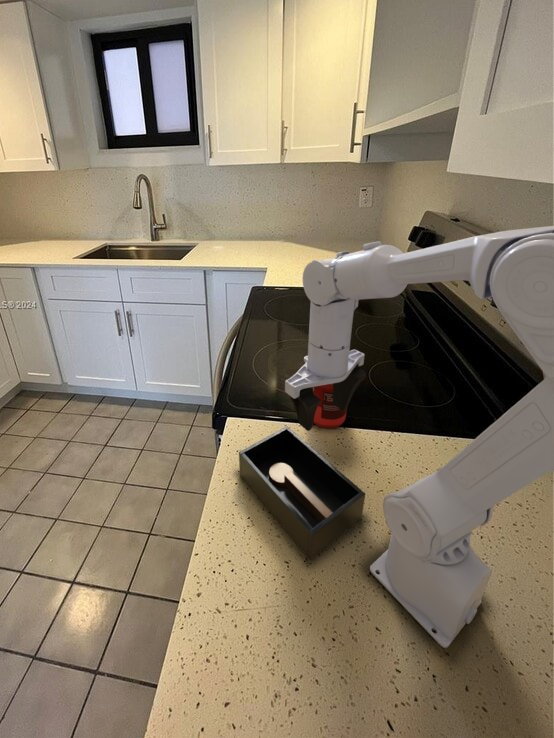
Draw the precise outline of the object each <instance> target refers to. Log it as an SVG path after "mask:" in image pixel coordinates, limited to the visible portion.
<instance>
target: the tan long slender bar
mask: <svg viewBox="0 0 554 738" xmlns="http://www.w3.org/2000/svg"><path fill="white" fill-rule="evenodd" d="M269 479H270V481H271V482H272V483H273V484H274V485H275V486H278V487H286V488H287V489H288V490H289V491H290V492H291V493H292V494H293V495H294V496H295V497H296V498H297V499H298V501H299V502H300V503H301V504H302V505H303V506H304V507H305V508H306V509H307V510H308V511H309V512H310V513H311V514H312V515H313V517H314V518H315V519H316V520H317V521H318V522H319V523H320V522H322V521H323V520H324V519H326V518H327V517H328V516H330V515H331V514H332V512H331V511H330V510H329V509H328V508H327V507H326V506H325V505H324V504H323V503H322V502H321V501H320V500H319V499H318V498H317V497H316V496H315V495H314V494H313V493H312V492H311V491H310V490H309V489H308V488H307V487H306V486H305V485H304V484H303V483H302V482H301V481H300V480H299V479H298V478H297V477H296V476H295V475H294V472H293V469H292V468H291V467H290V466H289V465H288V464H285V463H275V464H273V465H272V466H271V467H270V469H269Z"/></svg>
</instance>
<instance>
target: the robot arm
mask: <svg viewBox="0 0 554 738" xmlns="http://www.w3.org/2000/svg"><path fill="white" fill-rule="evenodd" d="M362 248H363V249H362V250H359V251H354V252H350V251H349V250H344V251H343V250H342V251H338V252H337V253H336V257H330V258H325V259H313V260H312V261H311V262H308V263H307V264H306V266H305V267H304V269H303V272H302V286H303V290H304V294H305V295H306V297H307V299H308V300H309V301H310V305H309V306H310V308H309V322H308V323H309V326H308V345H307V355H305V356H304V357H303V362H304V364H303V365H302V366H301V367H300V368H299V369H298V371H296V372H295V374H293V375H292V376H290V378H288V379H286V380H284V392H285V393H286V394H287V395H288V396H289V397H288V398H290V401H291V402H292V404H293V407H294V409H295V410H294V411H295V413H296V416H297V420H298V425H300V426H301V427H302V428H303V429H305V430H306V431H308V432H310V431H311V430H312V429H313V427H314V417H315V412H316V409H317V407H318V405H319V403H320V402H321V401H322V400H321V399H320V398H318V397H317V396H315V395H314V394H313V391H312V390H311V387H316V386H321V385H327V384H332V383H333V404H334V405H335V406H337V407H338V408H339V409H341V410H342V411H344V410H346V408H347V409H348V407H349V404H350V403H351V400H352V398H353V396H354V394H355V391H356V390H357V388H358V387H359V385H360V384H361V383H362V382H363V381H364V380H365V379H366V375H367V373H366V371H365V370H363V369H361V368H360V367H361V366H363V365H364V363H365V355H366V354H365V353H364V352H361V351H359V350H357V349H355V348H354V349H351V339H352V332H353V331H352V329H353V322H354V321H353V319H354V314H355V310H356V309H357V308H358V307H359V301H360V300H373V299H390V298H391V299H392V298H395V297H398V296H399V295H400V294H402V293H403V292H404V291H405V289H406V288H407V286H408V285H413V284H414V285H415V284H430V283H445V282H446V283H447V282H458V281H459V282H461V281H466V282H468V283H469V285H470V286H471V289H472V290H473V292H474V294H475V296H476V297H477V298H478V299H481V300H486V299H491V298H492V300H493V302H494V304H495V306H496V308H497V309H498V311H499V313H500V314H501V316H502V317H503V318H504V319H505V321H506V323H507V324H508V325H509V326H510V328H511V329H512V331H513V332H514V333H515V335H516V336H517V338H518V339H519V340H520V342H521V343H522V345H523V346H524V348H525V349H526V350H527V351H528V353H529V354H530V356H531V357H532V358H533V360H534V361H535V363H536V364H537V365H538V367H539V368H540V369H541V371H542V373H543V374H544V378H543V380H542V381H541V382H539V383H538V384H537V385H536V386H535V387H533V388H532V389H531V390H530V391H529V392H528V393H527V394H526V395H524V396H523V397H522V398H521V399H519V400H518V401H517V402H516V403H515V404H514V405H513V406H511V407H510V408H509V409H508V410H507V411H506V412H505V413H503V414H502V415H501V416H500V417H499V418H498V419H496V420H495V421H494V422H492V424H490V425H489V426H488V427H487V428H486V429H485V430H483V431H482V432H481V433H480V434H478V436H476V437H475V438H474V439H473V440H472V441H471V442H469V443H468V444H467V445H466V446H465V447H464V448H463V449H461V450H460V451H459V452H458V453H457V454H456V455H454V456H453V457H452V458H451V459H450V460H449V461H447V462H446V463H445V464H444V465H443V466H441V467H439V468H438V469H437V470H436V471H434V472H432V473H430V474H429V475H428V474H427V476H425V477H422V478H421V479H419V480H417V481H415V482H413V483H411V484H409V485H407V486H405V487H403V488H401V489H399V490H397V491H392V492H389V493H387V494H386V495H385V496H384V498H383V502H382V510H383V516H384V520H385V523H386V525H387V528H388V530H389V532H390V533H391V535H390V540H389V545H388V549H386V550H385V551H384V552H383V553H382V554H381V555H380V556H379V557H377V559H376V560H375V561H373V563H372V564H370V566H369V571H370V573H371V574H372V575H373V576H374V577H375V578H376V579H377V580H378V582H379V583H380V584H381V585H382V586H383V587H384V588H385V589H386V590H387V591H388V592H389V593H390V594H391V595H392V596H393V597H394V599H396V600H397V601H398V602H399V603H400V604H401V605H402V607H403V608H404V609H405V610H406V611H407V612H408V613H409V614H410V615H411V616H412V617H413V618H414V620H416V621H417V622H418V624H419V625H421V627H422V628H423V629H424V630H425V631H426V632H427V633H428V634H429V636H430V637H432V638H433V639H434V640H435V641H436V643H438V645H439V646H441V648H443V649H448V648H449V646H450V645H451V644H452V643H453V641H454V640H455V638H456V637H457V636H458V635H459V633H460V632H461V630H462V629H463V628H464V626H465V625H466V624H467V625H469V624H470V623H471V622H472V621H473V619H474V618H475V616H476V614H477V612H478V608H479V606H480V605H481V603H482V600H483V599H482V598H483V596H484V593H485V591H486V588H487V586H488V584H489V581H490V579H491V576H492V572H493V571H492V570H493V569H492V568H490V566H489V565H488V564H486V562H484V561H483V560H482V558H481V557H479V555H478V554H477V553H476V551H475V550H474V549H473V548H472V546H471V545H470V544H471V543H470V542H471V535H472V533H473V531H474V530H476V529H477V528H479V527H482V526H485V525H486V524H488V523H490V521H491V519H492V518H493V512H494V508H495V506H496V505H497V504H499V503H501V502H503V501H504V500H506V499H508V498H509V497H511V496H512V495H513V496H514V494H516V493H518V492H519V491H521V490H523V489H524V488H526V487H527V486H529V485H531V484H533V483H534V482H536V481H537V480H539V479H541V478H542V477H545V476H546V475H548V474H549V473H551V472H553V471H554V225H548V226H539V227H538V226H537V227H529V228H528V227H527V228H519V229H509V230H503V231H496V232H491V233H486V234H480V235H475V236H471V237H467V238H462V239H458V240H454V241H449V242H446V243H441V244H437V245H432V246H429V247H425V248H421V249H417V250H416V249H415V250H412V251H409V252H405V253H404V252H403V251H402V250H401V249H400V248H398V247H397V246H394V245H391V244H382V242H381V241H379V240H378V241H373V242H372V241H371V242H368V243H364V244H363V245H362ZM350 349H351V350H350ZM433 631H434V632H433Z"/></svg>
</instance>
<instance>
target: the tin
mask: <svg viewBox="0 0 554 738" xmlns="http://www.w3.org/2000/svg"><path fill="white" fill-rule="evenodd" d="M238 463H239V464H238V465H239V476H240V477H241V478H242V480H243V481H244V482H245V483H246V484H247V485H248V487H249V488H250V489H251V490H252V492H253V493H254V494H255V495H256V497H257V498H258V499H259V500H260V501H261V503H263V505H264V506H265V508H266V509H267V510H268V511H269V512H270V514H271V515H272V516H273V517H274V519H276V521H277V522H278V523H279V524H280V526H281V527H282V528H283V529H284V531H285V532H286V533H287V534H288V535H289V536H290V538H292V540H293V541H294V543H295V544H296V545H297V547H298V548H300V550H301V551H302V552H303V554H305V556H306V557H307V559H309V561H311V560H312V559H314V558H315V557H316V556H318V554H320V553H321V552H322V551H323V550H325V549H326V548H327V547H328V546H330V545H331V544H332V543H333V542H334V541H336V540H337V539H338V538H340V536H342V535H343V534H344V533H345V532H347V531H348V530H349V529H351V527H353V526H354V525H355V524H356V523H358V522H359V521H360V520H362V517H363V512H364V506H365V505H364V504H365V500H366V493H365V492H364V491H363V490H362V489H361V488H360V487H358V486H357V485H356V484H355V483H354V482H353V481H352V480H351V479H349V478H348V477H347V476H346V475H344V473H343V472H341V471H340V470H339V469H338V468H336V466H334V465H333V464H332V463H331V462H329V461H328V460H327V459H326V458H325V457H324V456H323V455H321V454H320V453H319V452H318V451H317V450H316V449H314V448H313V447H312V445H310V444H309V443H307V442H306V441H305V440H304V439H303V438H302V437H300V436H299V435H298V434H297V433H296V432H295V431H293V430H292V429H291V428H290V427H289V426H287V425H286V426H284V427H283V428H281V429H279V430H277V431H275V432H274V433H271V434H269V435H268V436H266V437H263V438H262V439H261V440H259V441H257V442H255V443H253V444H251V445H249V446H248V447H246V448H244V449H241V450H240V451H239V452H238ZM275 463H285V464H288V465H289V466H290V467H291V468H292V469H293V472H294V475H295V476H296V477H297V478H298V479H299V480H300V481H301V482H302V483H303V484H304V485H305V486H306V487H307V488H308V489H309V490H310V491H311V492H312V493H313V494H314V495H315V496H316V497H317V498H318V499H319V500H320V501H321V502H322V503H323V504H324V505H325V506H326V507H327V508H328V509H329V510H330V511H331V512H332V514H331V515H330V516H328V517H327V518H326V519H324V520H323V521H322V522H320V523H319V522H318V521H317V520H316V519H315V518H314V517H313V515H312V514H311V513H310V512H309V511H308V510H307V509H306V508H305V507H304V506H303V505H302V504H301V503H300V502H299V501H298V499H297V498H296V497H295V496H294V495H293V494H292V493H291V492H290V491H289V490H288V489H287V488H286V487H278V486H275V485H274V484H273V483H272V482H271V481H270V479H269V469H270V467H271V466H272V465H273V464H275Z"/></svg>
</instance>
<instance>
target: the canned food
mask: <svg viewBox="0 0 554 738" xmlns="http://www.w3.org/2000/svg"><path fill="white" fill-rule="evenodd" d="M311 390H312V391H313V394H314V395H315V396H317V397H318V398H320V399H321V400H322V401H321V402H320V403H319V405H318V407H317V409H316V412H315V417H314V423H313V425H316V426H318V427H320V428H325V429H335V428H338V427H340V426H342V425H343V424H344V422H345V421H346V418H347V411H348V407H347V408H346V410H344V411H342V410H341V409H339V408H338V407H337V406H335V405H334V404H333V383H332V384H327V385H321V386H316V387H311Z"/></svg>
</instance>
